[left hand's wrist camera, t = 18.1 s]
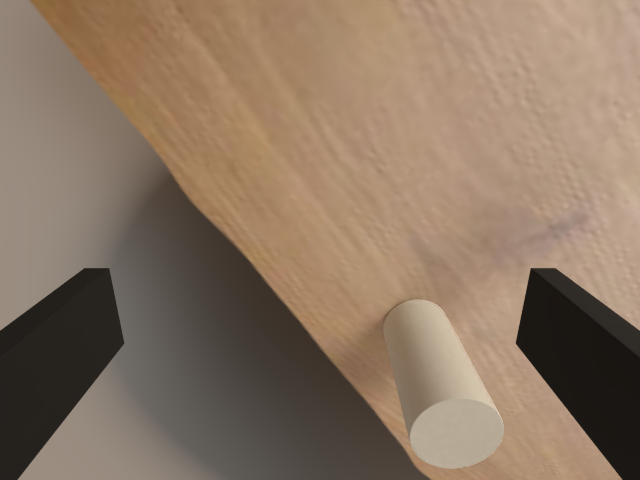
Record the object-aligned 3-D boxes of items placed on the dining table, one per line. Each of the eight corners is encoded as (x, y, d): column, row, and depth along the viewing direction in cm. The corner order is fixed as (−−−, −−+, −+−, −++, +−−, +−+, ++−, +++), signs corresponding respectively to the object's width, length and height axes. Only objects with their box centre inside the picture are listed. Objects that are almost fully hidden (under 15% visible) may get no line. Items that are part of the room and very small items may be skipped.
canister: (424, 363, 34) (467, 480, 24) (370, 338, 33) (391, 449, 23) (460, 316, 32) (523, 420, 22) (405, 288, 31) (444, 384, 21)
